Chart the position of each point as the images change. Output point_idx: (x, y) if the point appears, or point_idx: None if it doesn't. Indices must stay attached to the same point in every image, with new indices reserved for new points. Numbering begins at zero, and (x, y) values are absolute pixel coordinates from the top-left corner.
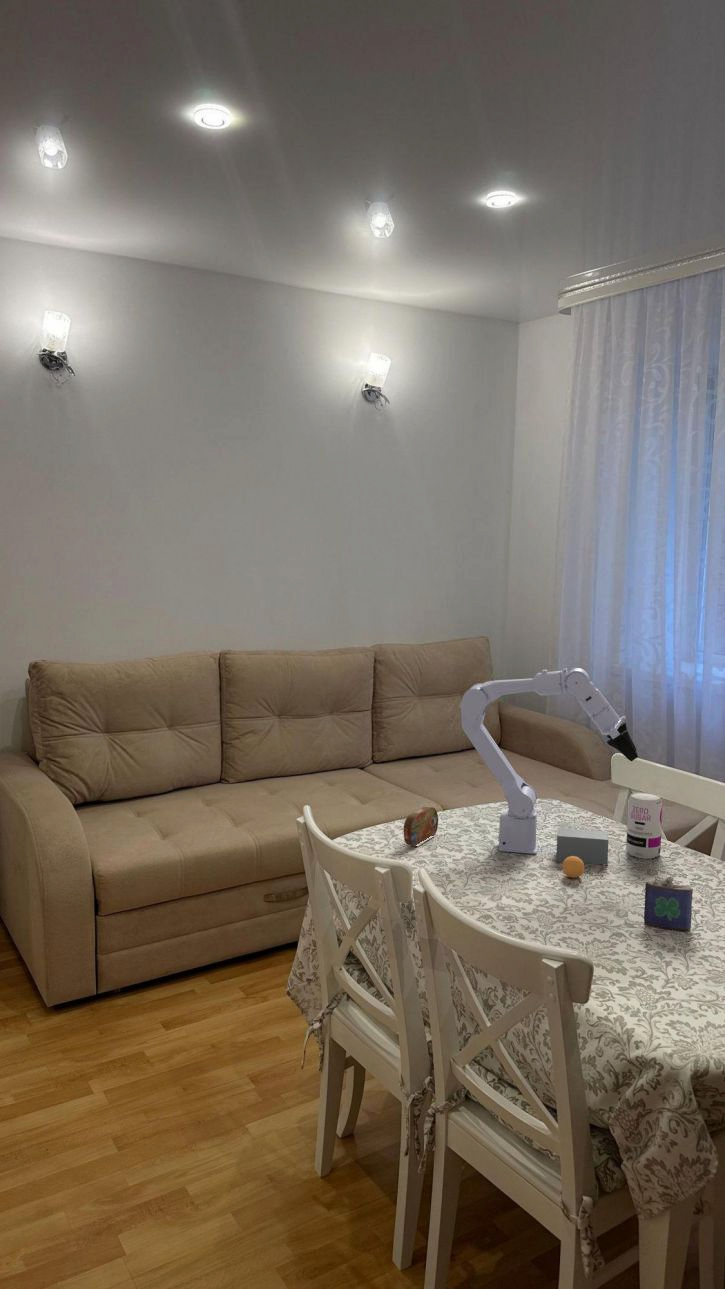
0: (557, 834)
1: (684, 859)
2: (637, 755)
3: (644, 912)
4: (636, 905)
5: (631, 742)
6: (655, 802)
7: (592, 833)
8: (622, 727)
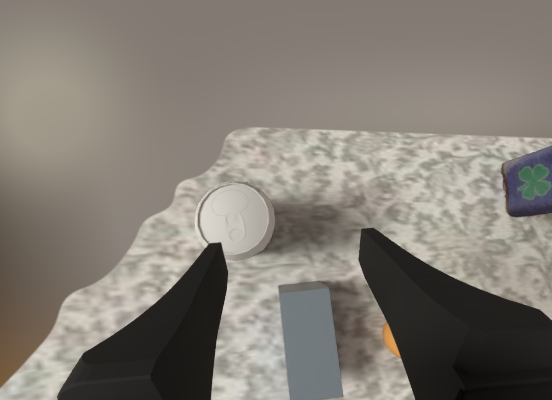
0: (335, 397)
1: (251, 167)
2: (377, 231)
3: (531, 215)
4: (460, 229)
5: (210, 273)
6: (260, 194)
7: (302, 323)
8: (173, 379)
